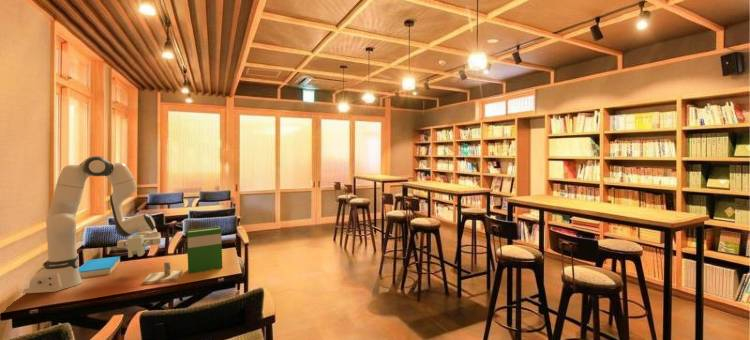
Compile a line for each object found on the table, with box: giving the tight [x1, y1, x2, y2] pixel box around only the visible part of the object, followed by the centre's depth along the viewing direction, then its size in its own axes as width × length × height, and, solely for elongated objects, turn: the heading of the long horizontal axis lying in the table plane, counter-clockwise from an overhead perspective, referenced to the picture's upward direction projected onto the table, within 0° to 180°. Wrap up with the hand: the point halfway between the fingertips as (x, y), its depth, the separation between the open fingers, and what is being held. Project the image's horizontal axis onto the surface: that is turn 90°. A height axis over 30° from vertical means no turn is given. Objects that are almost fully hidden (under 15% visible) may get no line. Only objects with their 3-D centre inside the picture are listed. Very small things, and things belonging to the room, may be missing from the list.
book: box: [78, 255, 121, 279], centre depth 202 cm, size 17×4×25 cm
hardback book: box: [186, 226, 223, 275], centre depth 201 cm, size 18×7×24 cm, turn 122°
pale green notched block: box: [127, 234, 146, 258], centre depth 182 cm, size 6×6×10 cm
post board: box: [142, 261, 183, 286], centre depth 187 cm, size 16×14×8 cm
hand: (135, 245), depth 181 cm, fingers closed on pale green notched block, 6 cm apart
